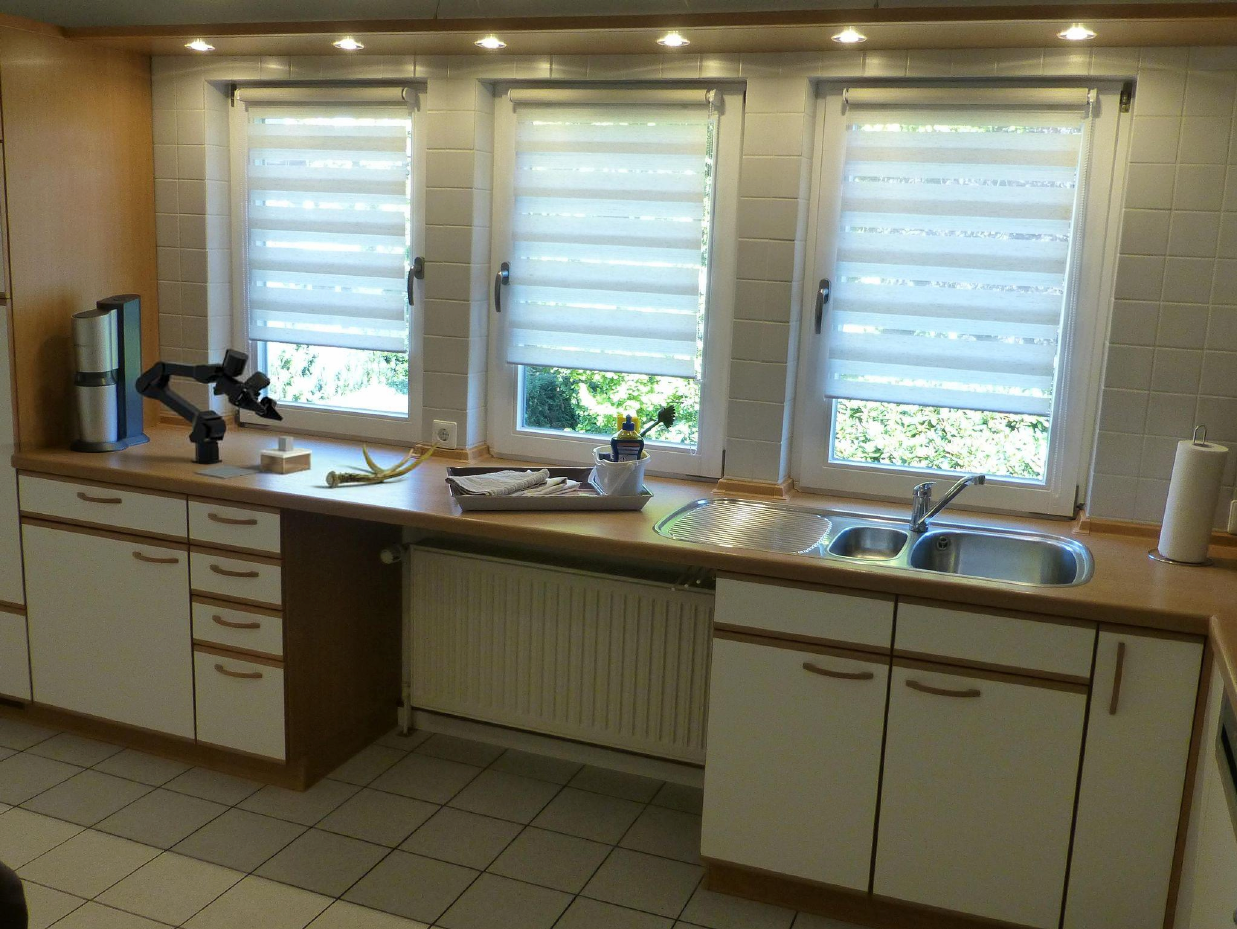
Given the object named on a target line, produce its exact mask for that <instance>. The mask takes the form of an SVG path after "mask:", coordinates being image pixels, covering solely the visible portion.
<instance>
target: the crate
mask: <svg viewBox="0 0 1237 929" xmlns="http://www.w3.org/2000/svg"><path fill="white" fill-rule="evenodd" d="M311 455H312V453H308V454H303V455H297V456H292V457H286V458H281V457H275V456H269V455H264V454H260V471H261V470H263V471H262V472H266V473H274V474H277V473H279V474H278V475H283V476H284V475H289V474H294V473H298V472H303V470H304V471H309V470H311V469H312V467H311V466H312V464H311V463H312V462H311Z"/></svg>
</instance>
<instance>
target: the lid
mask: <svg viewBox="0 0 1237 929" xmlns="http://www.w3.org/2000/svg"><path fill="white" fill-rule="evenodd" d="M277 440H278V441H277V444H278V446H277V447H275V448H269V449H263V450H259V451H258V454H259V455H261V454H264V455H269V456H275V457H281V458H286V457H292V456H297V455H303V454H308V453H311V454H313V449H307V448H302V447H295V446H294V437H293V436H288V435H284V436H277Z"/></svg>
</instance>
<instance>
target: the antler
mask: <svg viewBox="0 0 1237 929" xmlns="http://www.w3.org/2000/svg"><path fill="white" fill-rule="evenodd" d="M440 443H441V440H438V441H437V442H436V443H434V444H433V445H432V446H431V447H430V448H429V449H428V450H427V451H426V452H425V453H424V454H422V455H421V456H420V457H419V458H417V459H416V460H415V461H414V462H412V463H410V464H409V465H407V466H406V467H404V466H405V465H406V464H407V462H409V461H410V459H411V457H412V455H413V450H414V449H413V448H411V449H410V450H409V452H408V454H407V455H406V456H405V458H403V459H402V460H401V461H400V462H398V463H397V464H395V465H393V466H392V467H389V468H388V469H387V468H386V469H384V468H382V467H379V466H378V465H377V463H375V462H374V461H373V460H372V458H371V456H370V455H369V453H368V450H367V448H366V444H363V446H362V454H363V456H364V459H365V463H366V465H367V466H368V468H369V469H370V470H371V471H373V472H374V474H366V473H356V472H351V473H350V472H344V473H341V472H339V473H336V471H335V470H331V471H329V472H328V473H327V474H326V477H325V481H326V484H327V485H328V487H330V488H332V489H335V488H337V487H339V485H343V484H351V483H352V484H354V483H356V484H357V483H358V484H360V483H361V484H362V483H363V484H365V483H366V484H375V483H380V482H383V481H385V480H390V479H395V478H399V477H402V476H405V475H406V474H409V473H411V471H413V470H414V469H416V468H418V467H419V466H420V465H421V464H422V463H423V462H424V461H426V460H427V459H428V458H429V457H430V456H431V455H432V453H433V452H434V451H435V450H436V449H437V447H438V446H439V444H440ZM402 467H404V468H402ZM401 468H402V469H401Z"/></svg>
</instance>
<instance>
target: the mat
mask: <svg viewBox="0 0 1237 929" xmlns="http://www.w3.org/2000/svg"><path fill="white" fill-rule="evenodd" d="M256 472H257V473H260V470H257V469H251V468H245V467H242V466H241V467H240V466H235V465H230V464H228V465H222V466H217V467H214V468H213V467H212V468H207V469H206V468H205V469H200V470H197V471H194V474H197V473H198V474H199V475H202V476H206V477H212V476H214V477H213V478H218V479H223V478H226V479H230V477H231V478H235V477H234V476H236V477H241V476H240V475H242V476H247V475H250V474H249V473H252V474H257V473H256ZM246 474H247V475H246Z"/></svg>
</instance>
